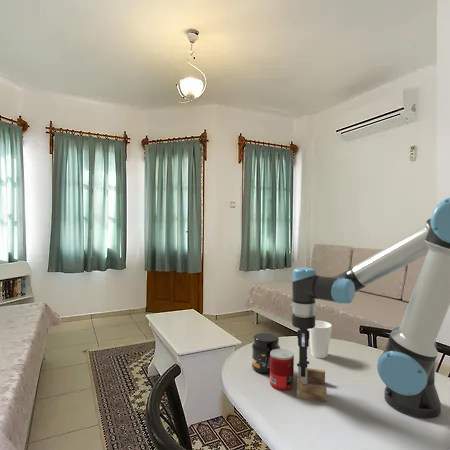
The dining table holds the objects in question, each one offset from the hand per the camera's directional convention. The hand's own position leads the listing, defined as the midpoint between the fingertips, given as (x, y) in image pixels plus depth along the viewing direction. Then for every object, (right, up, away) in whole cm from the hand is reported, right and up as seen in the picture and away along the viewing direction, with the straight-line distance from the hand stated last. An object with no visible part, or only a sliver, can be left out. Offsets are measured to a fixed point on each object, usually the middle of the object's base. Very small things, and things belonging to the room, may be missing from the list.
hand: (303, 384), depth 109 cm
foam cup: (+13, -1, +27) cm, 30 cm away
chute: (+3, -1, 0) cm, 3 cm away
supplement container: (-11, -1, +14) cm, 18 cm away
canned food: (-7, -2, +2) cm, 7 cm away
